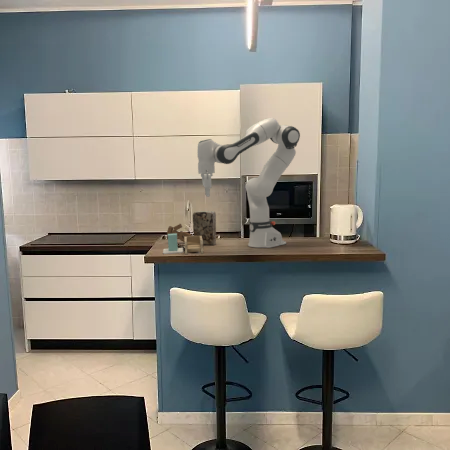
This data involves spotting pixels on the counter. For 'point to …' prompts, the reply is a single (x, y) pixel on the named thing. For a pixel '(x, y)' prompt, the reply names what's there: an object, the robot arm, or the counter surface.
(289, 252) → the counter surface
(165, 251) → the mat
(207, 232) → the stone block
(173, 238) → the block
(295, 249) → the counter surface
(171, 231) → the figurine
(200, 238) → the channel
